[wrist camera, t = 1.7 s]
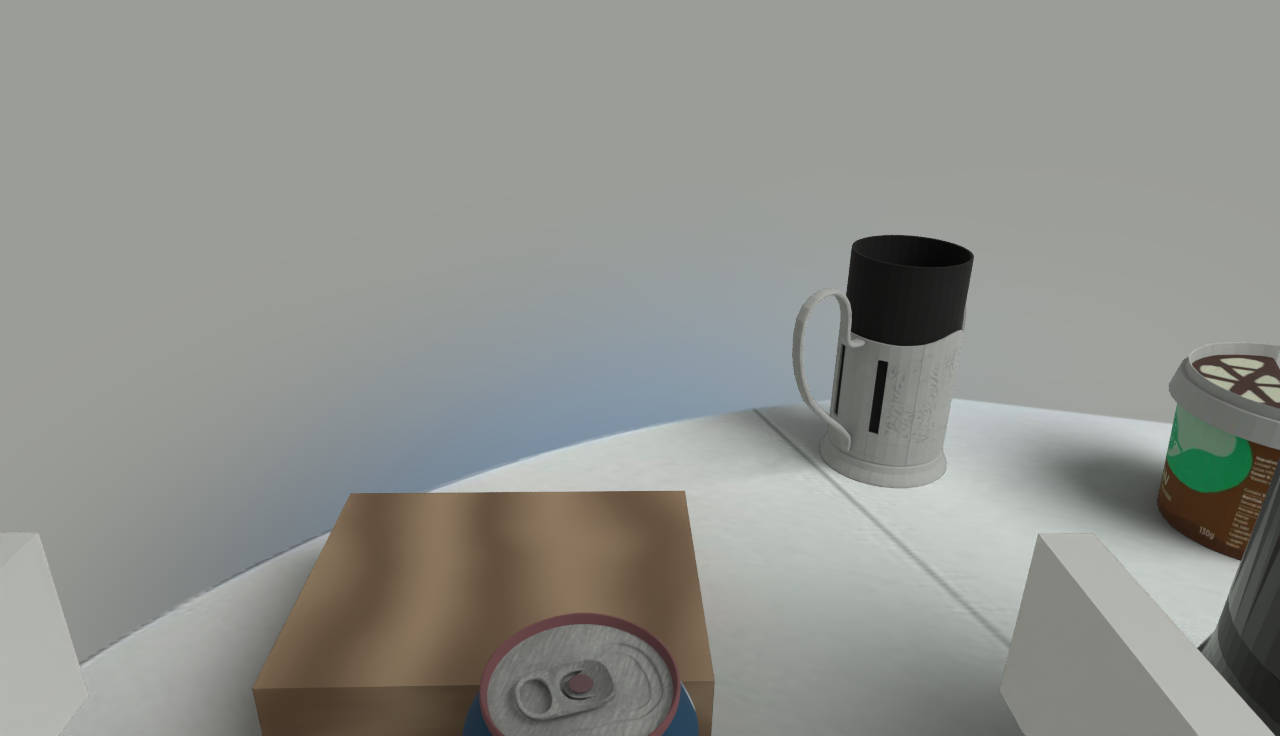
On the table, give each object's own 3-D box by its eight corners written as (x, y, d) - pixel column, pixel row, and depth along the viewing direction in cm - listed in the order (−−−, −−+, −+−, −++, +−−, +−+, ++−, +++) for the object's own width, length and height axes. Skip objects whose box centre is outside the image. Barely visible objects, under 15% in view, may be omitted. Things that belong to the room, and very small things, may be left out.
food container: (1131, 457, 61) (1168, 326, 57) (1232, 478, 58) (1279, 342, 54) (1142, 551, 51) (1188, 399, 46) (1265, 580, 48) (1326, 422, 44)
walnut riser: (681, 565, 49) (684, 490, 47) (708, 772, 36) (714, 680, 34) (361, 569, 48) (350, 493, 46) (272, 781, 35) (252, 688, 33)
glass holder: (972, 463, 60) (1013, 256, 54) (831, 529, 52) (860, 296, 46) (874, 415, 66) (901, 226, 60) (736, 468, 59) (751, 257, 53)
